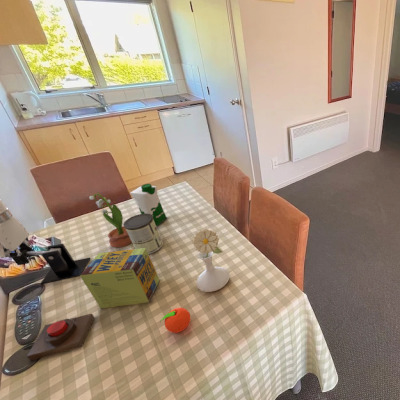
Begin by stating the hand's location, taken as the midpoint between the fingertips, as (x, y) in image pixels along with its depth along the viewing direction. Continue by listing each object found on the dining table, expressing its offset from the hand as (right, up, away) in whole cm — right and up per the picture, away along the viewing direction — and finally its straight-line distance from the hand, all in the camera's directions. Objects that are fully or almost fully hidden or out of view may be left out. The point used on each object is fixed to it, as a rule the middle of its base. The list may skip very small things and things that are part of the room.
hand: (27, 259), depth 95 cm
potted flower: (+18, +3, +23) cm, 29 cm away
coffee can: (+32, +1, +20) cm, 37 cm away
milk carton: (+24, +11, +36) cm, 45 cm away
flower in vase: (+67, -9, +2) cm, 68 cm away
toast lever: (+4, +1, +1) cm, 4 cm away
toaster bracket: (+8, -7, +7) cm, 13 cm away
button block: (+29, -20, -16) cm, 39 cm away
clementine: (+62, -18, -13) cm, 66 cm away
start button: (+29, -17, -18) cm, 38 cm away
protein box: (+39, -12, -2) cm, 41 cm away
